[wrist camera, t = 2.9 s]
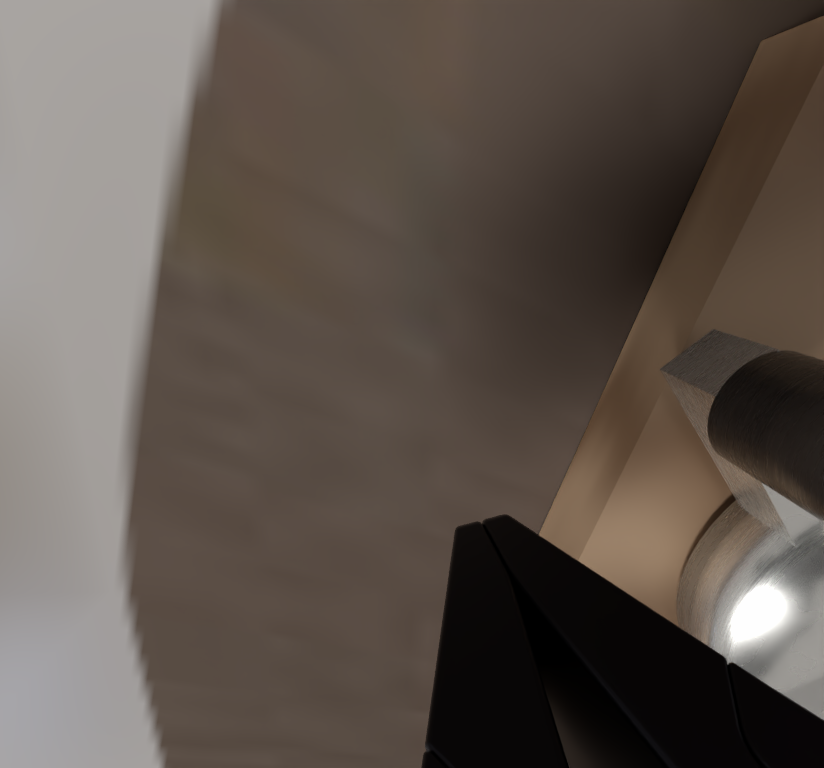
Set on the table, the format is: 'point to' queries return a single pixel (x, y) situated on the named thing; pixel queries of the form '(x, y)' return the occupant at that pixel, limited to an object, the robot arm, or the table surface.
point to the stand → (706, 328)
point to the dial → (759, 511)
